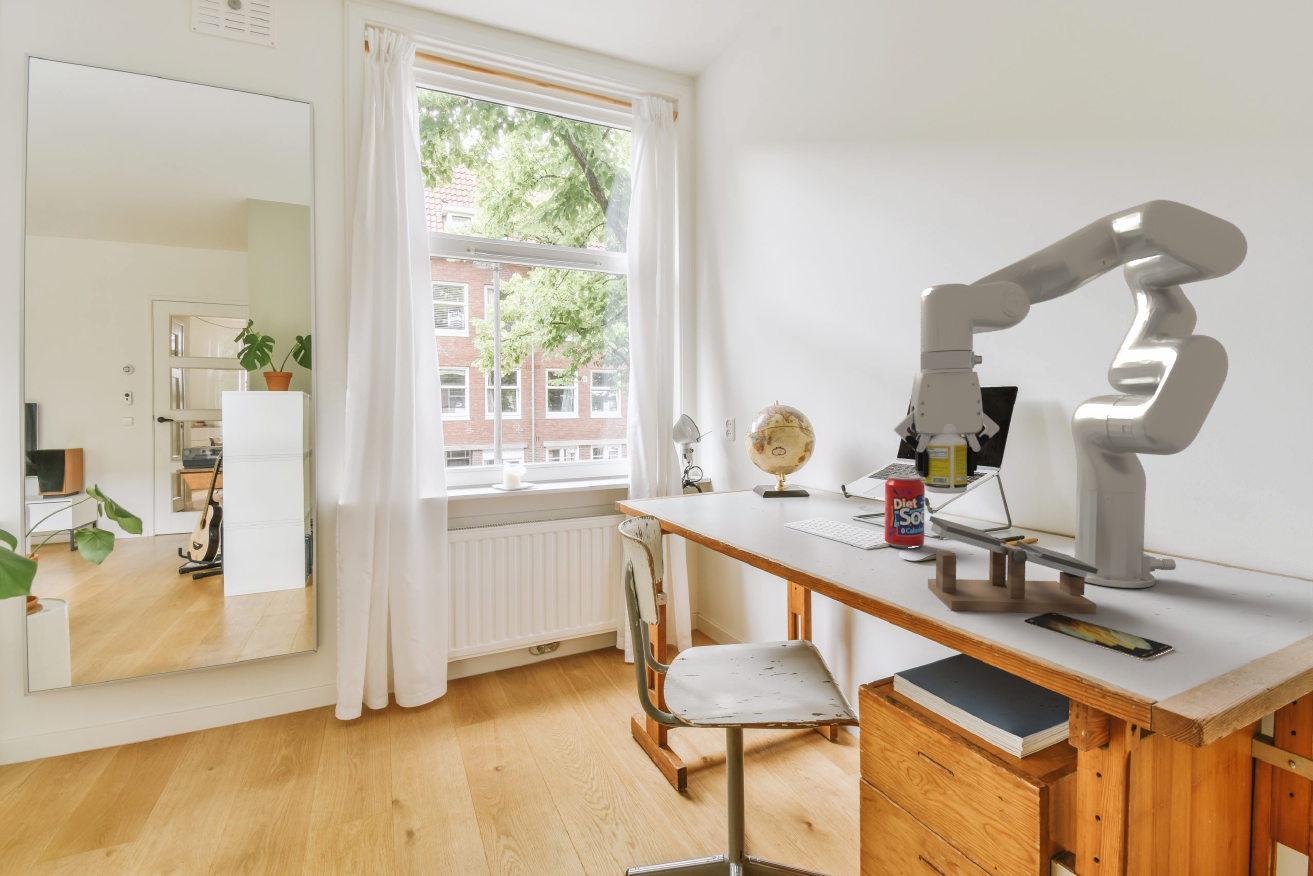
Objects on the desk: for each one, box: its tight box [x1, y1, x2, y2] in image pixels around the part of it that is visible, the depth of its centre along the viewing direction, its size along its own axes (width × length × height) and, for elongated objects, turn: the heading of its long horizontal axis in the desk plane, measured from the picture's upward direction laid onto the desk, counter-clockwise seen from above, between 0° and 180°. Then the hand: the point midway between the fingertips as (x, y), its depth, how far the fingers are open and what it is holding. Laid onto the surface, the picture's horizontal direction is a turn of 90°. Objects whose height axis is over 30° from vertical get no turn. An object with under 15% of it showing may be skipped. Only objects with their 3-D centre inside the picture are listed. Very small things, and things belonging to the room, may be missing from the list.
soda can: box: [884, 474, 926, 549], centre depth 130 cm, size 8×8×15 cm
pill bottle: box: [924, 424, 968, 495], centre depth 98 cm, size 6×6×11 cm
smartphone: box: [1023, 613, 1174, 661], centre depth 81 cm, size 7×1×15 cm
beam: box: [928, 515, 1098, 578], centre depth 94 cm, size 22×8×2 cm, turn 84°
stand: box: [927, 536, 1097, 615], centre depth 94 cm, size 20×11×9 cm, turn 83°
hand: (945, 474), depth 98 cm, fingers closed on pill bottle, 6 cm apart
